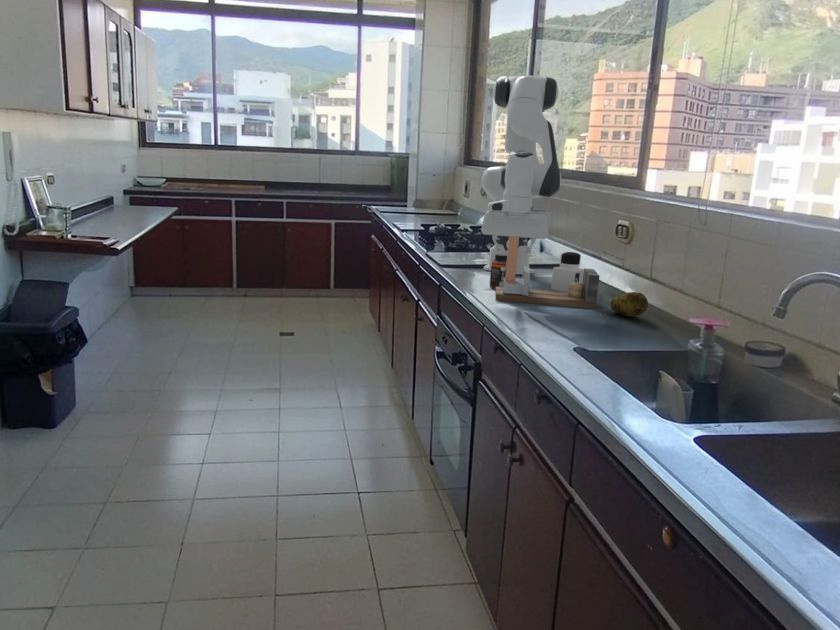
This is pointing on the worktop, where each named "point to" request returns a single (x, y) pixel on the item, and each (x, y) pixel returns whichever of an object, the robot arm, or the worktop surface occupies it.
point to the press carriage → (510, 282)
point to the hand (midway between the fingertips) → (512, 251)
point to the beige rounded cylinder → (576, 290)
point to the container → (567, 272)
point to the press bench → (558, 294)
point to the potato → (630, 304)
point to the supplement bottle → (498, 270)
